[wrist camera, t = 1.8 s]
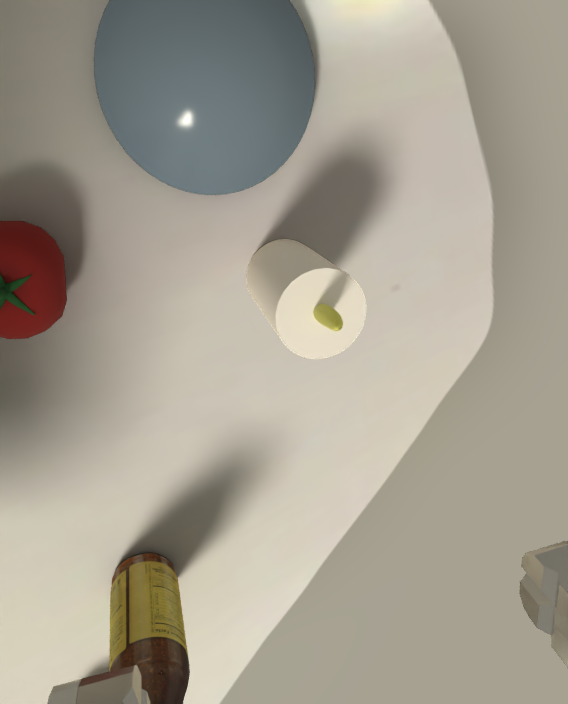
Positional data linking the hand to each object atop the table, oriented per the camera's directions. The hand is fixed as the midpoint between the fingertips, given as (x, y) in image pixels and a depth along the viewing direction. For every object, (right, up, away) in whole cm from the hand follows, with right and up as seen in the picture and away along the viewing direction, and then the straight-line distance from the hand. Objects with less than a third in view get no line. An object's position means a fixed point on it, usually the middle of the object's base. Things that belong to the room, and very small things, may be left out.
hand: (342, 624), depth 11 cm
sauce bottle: (-15, -16, +42) cm, 47 cm away
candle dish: (-7, +25, +27) cm, 37 cm away
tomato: (-21, +12, +29) cm, 38 cm away
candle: (-1, +12, +34) cm, 36 cm away
